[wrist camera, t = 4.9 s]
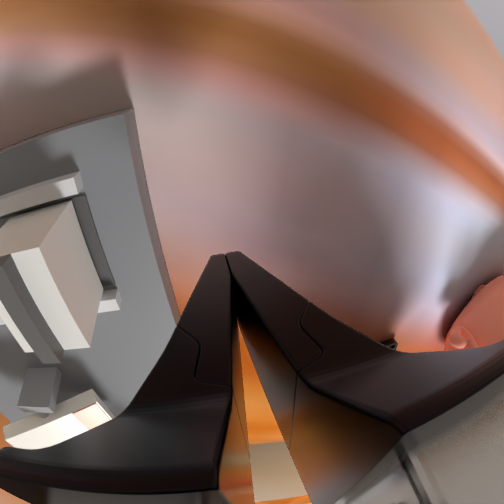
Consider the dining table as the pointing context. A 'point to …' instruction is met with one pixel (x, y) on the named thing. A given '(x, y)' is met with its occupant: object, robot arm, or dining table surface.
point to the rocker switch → (58, 422)
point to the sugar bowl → (479, 319)
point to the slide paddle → (48, 282)
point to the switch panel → (104, 259)
